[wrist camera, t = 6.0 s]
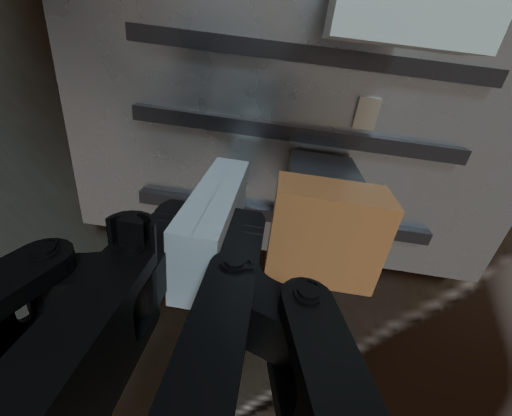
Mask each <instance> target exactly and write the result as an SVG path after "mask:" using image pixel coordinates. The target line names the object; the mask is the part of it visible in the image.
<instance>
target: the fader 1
mask: <svg viewBox="0 0 512 416" xmlns="http://www.w3.org/2000/svg"><path fill="white" fill-rule="evenodd" d="M404 213H405V211H404V209H403V208H402V206H401V205H400V204H399V202H398V201H397V199H396V198H395V197H394V195H393V194H392V192H391V191H390V190H389V188H388V187H387V186H385V185H378V184H370V183H366V182H365V180H364V178H363V176H362V175H361V173H360V171H359V169H358V168H357V166H356V164H355V162H354V161H353V159H352V157H345V156H337V155H330V154H323V153H316V152H309V151H301V150H294V149H291V152H290V158H289V164H288V169H287V172H286V171H279V175H278V182H277V188H276V194H275V201H274V207H273V213H272V220H271V226H270V232H269V238H268V245H267V252H266V260H265V269H264V273H265V274H266V275H268V276H269V277H270V278H272V279H274V280H276V281H278V282H281V283H285V282H286V281H288V280H289V279H291V278H296V277H306V278H311V279H314V280H316V281H319V282H320V283H322V284H323V285H325V286H326V287H327V288H328V289H329V290H330V291H337V292H343V293H349V294H356V295H362V296H369V297H371V296H372V294H373V291H374V289H375V286H376V284H377V281H378V279H379V276H380V273H381V271H382V268H383V266H384V263H385V261H386V258H387V256H388V253H389V251H390V248H391V246H392V243H393V241H394V238H395V236H396V233H397V231H398V228H399V225H400V223H401V220H402V218H403V215H404Z"/></svg>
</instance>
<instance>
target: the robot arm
mask: <svg viewBox="0 0 512 416" xmlns="http://www.w3.org/2000/svg"><path fill="white" fill-rule="evenodd" d="M248 168H249V162H248V161H241V160H234V159H228V158H221V157H217V158H216V160H215V161H214V162H213V164H212V165H211V167H210V168H209V169H208V171H207V172H206V174H205V175H204V176H203V178H202V179H201V181H200V182H199V183H198V185H197V186H196V188H195V189H194V190H193V192H192V193H191V195H190V196H189V197H188V199H187V200H186V201H183V200H176V199H169V200H167V201H165V202H163V203H161V204H160V205H159V206H158V207H157V208H156V209H155V210H154V212H153V213H152V214H149V213H147V212H143V211H136V210H129V211H121V212H118V213H115V214H112V215H110V216H108V217H107V218H105V222H106V229H107V237H108V245H107V247H106V248H105V249H104V250H103V251H102V252H91V253H75V251H74V247H73V244H72V243H71V242H69V241H68V240H65V239H60V238H46V239H42V240H37V241H34V242H32V243H29V244H27V245H24V246H22V247H21V248H19V249H17V250H15V251H13V252H11V253H9V254H7V255H5V256H3V257H1V258H0V416H111V414H112V412H113V410H114V408H115V406H116V404H117V402H118V400H119V398H120V396H121V394H122V392H123V390H124V388H125V386H126V384H127V382H128V380H129V378H130V376H131V374H132V372H133V370H134V368H135V366H136V364H137V362H138V360H139V358H140V356H141V354H142V352H143V350H144V348H145V346H146V344H147V342H148V340H149V338H150V336H151V334H152V332H153V330H154V328H155V326H156V324H157V322H158V320H159V316H160V303H161V301H162V299H163V297H164V295H165V293H166V306H170V307H176V308H182V309H188V310H190V312H189V314H188V317H187V319H186V322H185V324H184V327H183V329H182V332H181V334H180V337H179V339H178V342H177V344H176V347H175V349H174V352H173V354H172V357H171V359H170V362H169V364H168V367H167V369H166V372H165V374H164V377H163V379H162V382H161V384H160V387H159V389H158V392H157V394H156V397H155V399H154V401H153V404H152V406H151V409H150V411H149V414H148V416H235V411H236V405H237V398H238V392H239V386H240V380H241V374H242V368H243V361H244V355H245V350H247V351H249V352H251V353H253V354H255V355H257V356H259V357H261V358H263V359H265V360H266V361H267V367H268V373H269V379H270V385H271V391H272V397H273V402H274V408H275V414H276V416H390V414H389V412H388V410H387V408H386V405H385V403H384V401H383V399H382V397H381V395H380V393H379V391H378V389H377V387H376V385H375V382H374V380H373V378H372V376H371V374H370V372H369V370H368V368H367V366H366V364H365V362H364V359H363V357H362V355H361V353H360V351H359V349H358V347H357V345H356V343H355V341H354V338H353V336H352V334H351V332H350V330H349V328H348V326H347V324H346V322H345V320H344V317H343V315H342V313H341V311H340V309H339V307H338V305H337V303H336V301H335V299H334V297H333V295H332V293H331V292H330V290H329V289H328V288H327V287H326V286H325V285H323V284H322V283H320V282H319V281H316V280H314V279H311V278H306V277H296V278H291V279H289V280H288V281H286V282H285V283H284V284H283V283H281V282H278V281H276V280H274V279H272V278H270V277H269V276H268V275H266V274H265V273H264V271H263V270H262V269H261V267H260V263H259V261H260V254H261V248H262V241H263V235H264V228H265V222H266V219H265V217H264V215H263V214H262V212H259V211H253V210H246V209H244V204H245V195H246V186H247V177H248ZM24 305H27V308H28V311H29V315H28V316H26V317H24V318H22V319H17V318H16V315H15V313H14V312H15V311H17V310H18V309H20V308H21V307H23V306H24Z"/></svg>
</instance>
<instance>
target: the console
mask: <svg viewBox="0 0 512 416" xmlns="http://www.w3.org/2000/svg"><path fill="white" fill-rule="evenodd" d="M42 3H43V9H44V14H45V19H46V25H47V30H48V35H49V41H50V46H51V51H52V57H53V62H54V68H55V73H56V78H57V84H58V89H59V94H60V100H61V105H62V111H63V116H64V121H65V127H66V132H67V137H68V143H69V148H70V154H71V159H72V164H73V170H74V175H75V180H76V186H77V191H78V197H79V202H80V207H81V213H82V218H83V223H88V224H95V225H101V226H106V222H105V218H107V217H108V216H110V215H112V214H115V213H118V212H121V211H129V210H136V211H143V212H147V213H149V214H152V213H153V212H154V210H155V209H156V208H157V207H158V206H159V205H160V204H161V203H163V202H165V201H167V200H169V199H176V200H183V201H186V200H187V199H188V197H189V196H190V195H191V193H192V192H193V190H194V189H195V188H196V186H197V185H198V183H199V182H200V181H201V179H202V178H203V176H204V175H205V174H206V172H207V171H208V169H209V168H210V167H211V165H212V164H213V162H214V161H215V160H216V158H217V157H221V158H228V159H234V160H241V161H248V162H249V168H248V177H247V186H246V195H245V204H244V209H246V210H253V211H259V212H262V214H263V215H264V217H265V219H266V222H265V228H264V235H263V241H262V248H261V250H266V251H267V245H268V238H269V232H270V226H271V220H272V213H273V207H274V201H275V194H276V188H277V182H278V175H279V171H286V172H287V169H288V164H289V158H290V152H291V149H294V150H301V151H309V152H316V153H323V154H330V155H337V156H345V157H352V159H353V161H354V162H355V164H356V166H357V168H358V169H359V171H360V173H361V175H362V176H363V178H364V180H365V182H366V183H370V184H378V185H385V186H387V187H388V188H389V190H390V191H391V192H392V194H393V195H394V197H395V198H396V199H397V201H398V202H399V204H400V205H401V206H402V208H403V209H404V211H405V213H404V215H403V218H402V220H401V223H400V225H399V228H398V231H397V233H396V236H395V238H394V241H393V243H392V246H391V248H390V251H389V253H388V256H387V258H386V261H385V263H384V266H383V268H385V269H391V270H398V271H404V272H411V273H418V274H424V275H431V276H437V277H444V278H451V279H457V280H464V281H470V282H478V281H479V279H480V277H481V276H482V274H483V272H484V271H485V269H486V267H487V266H488V264H489V262H490V261H491V259H492V257H493V256H494V254H495V252H496V251H497V249H498V247H499V246H500V244H501V242H502V241H503V239H504V237H505V236H506V234H507V232H508V231H509V229H510V228H511V226H512V20H511V22H510V24H509V26H508V29H507V31H506V33H505V36H504V38H503V40H502V42H501V45H500V47H499V49H498V52H497V54H496V56H467V55H450V54H442V53H434V52H427V51H419V50H411V49H403V48H395V47H387V46H379V45H371V44H363V43H355V42H347V41H339V40H331V39H323V38H322V36H323V30H324V25H325V20H326V14H327V9H328V4H329V0H42Z"/></svg>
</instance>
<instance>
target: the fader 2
mask: <svg viewBox="0 0 512 416" xmlns="http://www.w3.org/2000/svg"><path fill="white" fill-rule="evenodd" d="M511 20H512V0H329V4H328V9H327V14H326V20H325V25H324V30H323V36H322V38H323V39H331V40H339V41H347V42H355V43H363V44H371V45H379V46H387V47H395V48H403V49H411V50H419V51H427V52H434V53H442V54H450V55H467V56H496V54H497V52H498V49H499V47H500V45H501V42H502V40H503V38H504V36H505V33H506V31H507V29H508V26H509V24H510V22H511Z"/></svg>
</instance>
